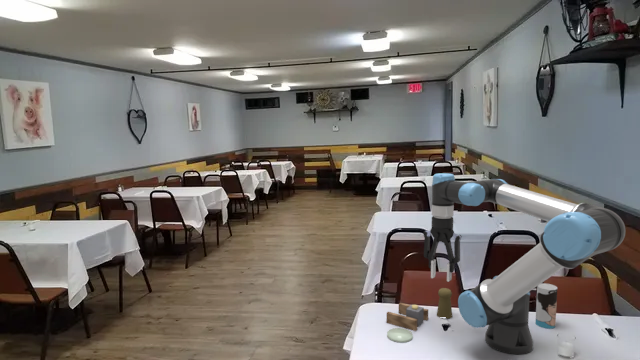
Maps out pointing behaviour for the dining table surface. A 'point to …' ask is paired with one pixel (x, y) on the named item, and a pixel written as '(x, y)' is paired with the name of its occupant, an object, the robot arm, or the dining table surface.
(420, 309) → the plug
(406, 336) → the saucer
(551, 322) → the cup
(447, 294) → the cork
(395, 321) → the guide channel
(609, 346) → the dining table surface
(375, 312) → the dining table surface
